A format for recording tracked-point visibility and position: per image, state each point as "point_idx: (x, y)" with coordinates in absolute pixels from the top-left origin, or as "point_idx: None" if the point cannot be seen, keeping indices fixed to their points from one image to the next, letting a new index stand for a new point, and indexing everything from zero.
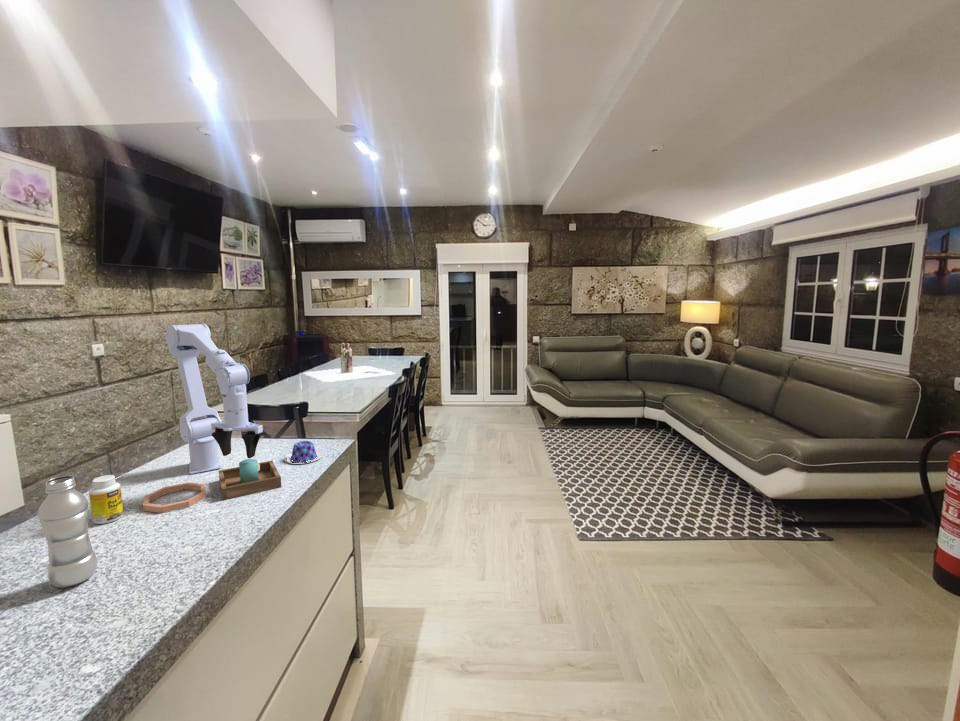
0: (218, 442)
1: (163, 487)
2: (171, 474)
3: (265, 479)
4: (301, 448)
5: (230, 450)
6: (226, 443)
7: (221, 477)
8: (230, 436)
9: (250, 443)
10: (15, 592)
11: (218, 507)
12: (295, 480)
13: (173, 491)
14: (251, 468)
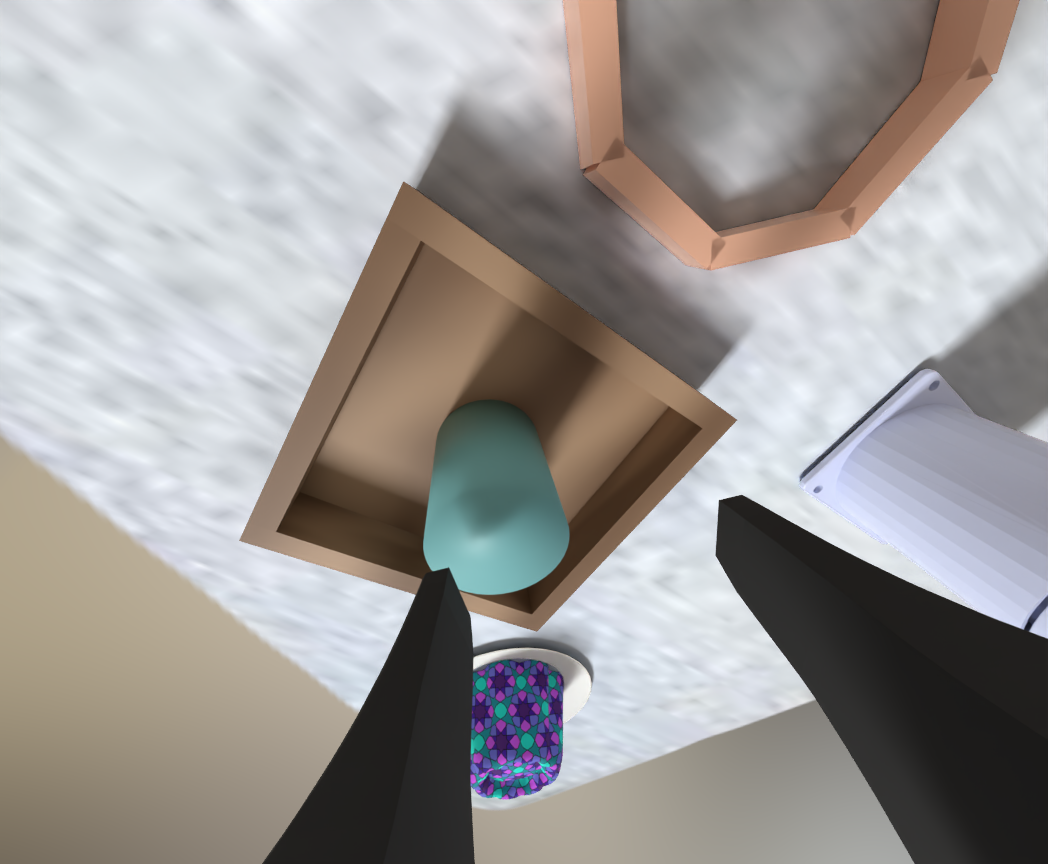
0: (948, 615)
1: (994, 67)
2: (1034, 322)
3: (286, 473)
4: (488, 752)
5: (734, 580)
6: (823, 645)
7: (625, 354)
8: (874, 777)
9: (297, 826)
10: None
11: (317, 64)
12: (297, 569)
13: (883, 128)
14: (430, 504)
